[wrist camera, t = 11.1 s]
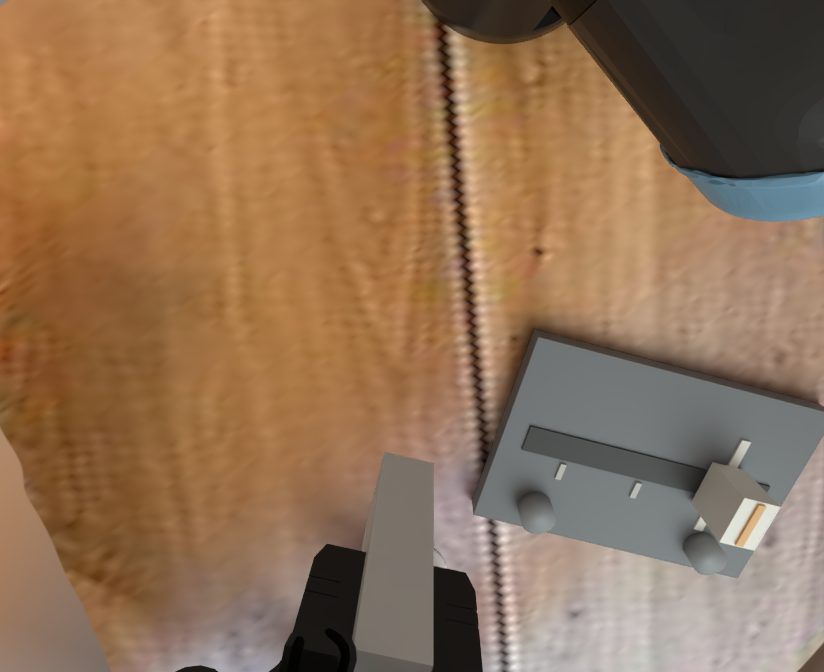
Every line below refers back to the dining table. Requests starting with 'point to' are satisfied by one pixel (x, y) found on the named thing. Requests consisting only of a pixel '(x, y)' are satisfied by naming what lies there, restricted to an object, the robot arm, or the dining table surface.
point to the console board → (635, 450)
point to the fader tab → (734, 506)
